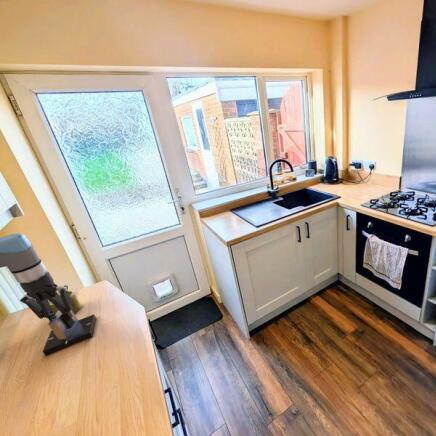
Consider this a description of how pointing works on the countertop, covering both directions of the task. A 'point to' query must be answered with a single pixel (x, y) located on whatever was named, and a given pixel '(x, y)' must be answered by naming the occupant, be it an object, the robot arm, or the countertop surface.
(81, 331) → the base
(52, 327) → the tap handle
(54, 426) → the countertop surface
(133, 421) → the countertop surface
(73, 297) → the mug
